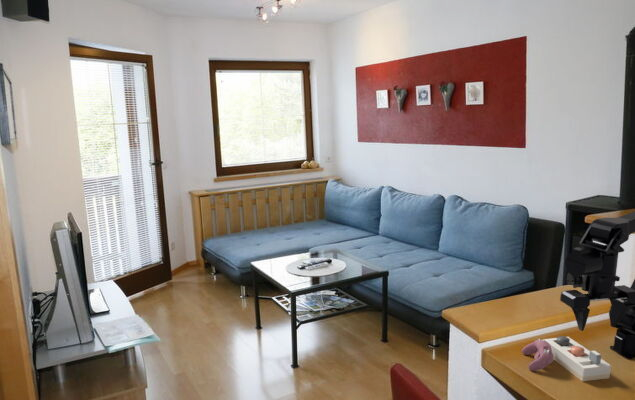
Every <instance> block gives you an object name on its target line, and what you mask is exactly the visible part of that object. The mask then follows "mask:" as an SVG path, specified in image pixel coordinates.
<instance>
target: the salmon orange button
mask: <svg viewBox="0 0 635 400" xmlns="http://www.w3.org/2000/svg"><path fill="white" fill-rule="evenodd" d="M584 348H585V347H584ZM584 348H582V347H579V346H572V347H571V354H572V355H574V356H575V357H582V356H584Z"/></svg>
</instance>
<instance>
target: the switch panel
mask: <svg viewBox="0 0 635 400" xmlns="http://www.w3.org/2000/svg"><path fill="white" fill-rule="evenodd" d="M566 337H567V338H569V339H570V341H569V346H563V347H561V346H560V345H558V344H557V337H553V338H552V337H551V338H543V339H542V340H545V341H546V342H548V343H549V344H550V346H551V349H552V353H553V361H555V362H556V363H557V364H558V365H560V366H562V367H563V368H564V369H565V370H567V371H568V372H570V373H571V374H572V375H574V377H576V378H577V379H578V380H580V381H581V382H588V381H589V382H590V381H596V380H604V379H605V380H606V379H610V375H611V367H612V365H611V364H609V362H606V361H605V360H604V359H603V358H601V362H600V364H593V365H591V363H592V361H591V360H590V359H589V355H590V351H591V350H589V349H587V348H586V347H585V346H583V345H582V344H580V343H579V342H577V341H576V340H574V339H573V338H570V336H566ZM572 346H579V347H582V348H584V356H582V357H575V356H574V355H572V354H571V347H572Z"/></svg>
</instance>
